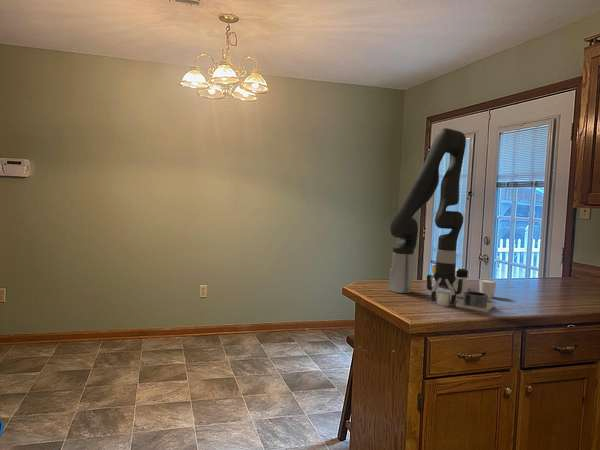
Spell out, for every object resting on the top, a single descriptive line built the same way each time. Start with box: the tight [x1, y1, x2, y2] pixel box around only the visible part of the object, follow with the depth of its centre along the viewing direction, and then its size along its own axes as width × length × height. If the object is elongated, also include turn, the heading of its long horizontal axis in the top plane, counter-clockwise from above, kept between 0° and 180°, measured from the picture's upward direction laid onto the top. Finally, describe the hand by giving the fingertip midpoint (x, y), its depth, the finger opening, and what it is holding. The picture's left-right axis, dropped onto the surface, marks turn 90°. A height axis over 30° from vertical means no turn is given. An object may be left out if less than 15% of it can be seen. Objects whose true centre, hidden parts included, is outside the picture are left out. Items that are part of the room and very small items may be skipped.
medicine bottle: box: [449, 268, 470, 299], centre depth 199 cm, size 7×7×12 cm
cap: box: [435, 290, 451, 307], centre depth 182 cm, size 5×5×5 cm
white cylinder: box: [478, 279, 497, 299], centre depth 201 cm, size 7×7×7 cm
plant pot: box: [431, 264, 445, 288], centre depth 220 cm, size 10×10×10 cm
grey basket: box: [455, 290, 495, 313], centre depth 181 cm, size 12×12×5 cm
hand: (443, 302), depth 182 cm, fingers open, 6 cm apart
